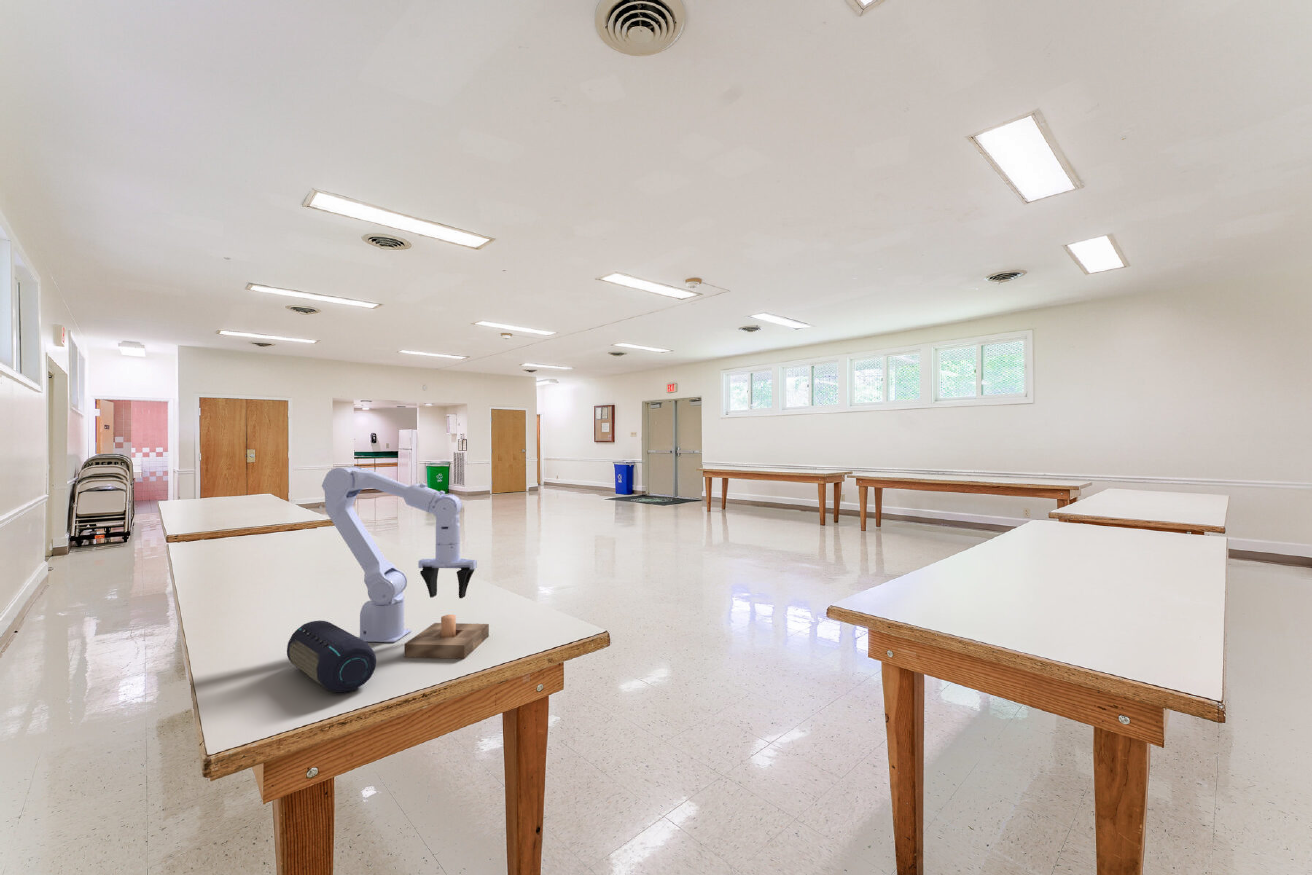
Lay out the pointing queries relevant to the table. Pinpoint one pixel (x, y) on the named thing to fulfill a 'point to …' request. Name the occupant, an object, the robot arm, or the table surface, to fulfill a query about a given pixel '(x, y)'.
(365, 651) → the portable speaker
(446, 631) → the peg
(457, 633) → the socket block
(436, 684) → the table surface
